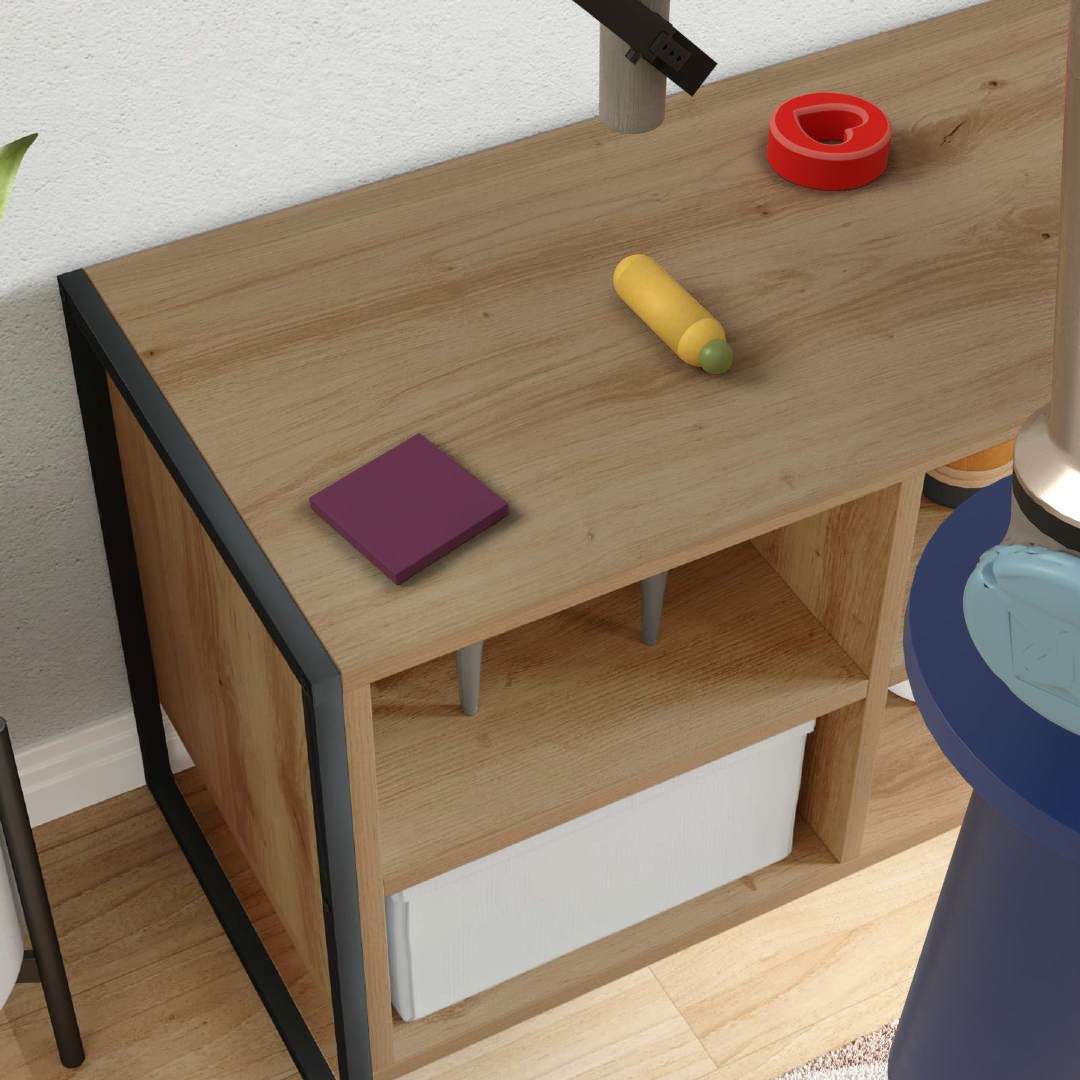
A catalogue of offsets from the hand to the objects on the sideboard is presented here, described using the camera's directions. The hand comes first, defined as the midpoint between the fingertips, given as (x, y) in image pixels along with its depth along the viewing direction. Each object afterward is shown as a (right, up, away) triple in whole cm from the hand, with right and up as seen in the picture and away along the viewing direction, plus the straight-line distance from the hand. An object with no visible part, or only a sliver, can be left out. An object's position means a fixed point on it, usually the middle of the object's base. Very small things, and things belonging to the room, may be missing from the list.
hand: (680, 60), depth 107 cm
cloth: (-18, -31, -7) cm, 36 cm away
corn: (0, -18, +5) cm, 18 cm away
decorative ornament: (+14, -2, +20) cm, 25 cm away
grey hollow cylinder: (-3, -4, +1) cm, 5 cm away
